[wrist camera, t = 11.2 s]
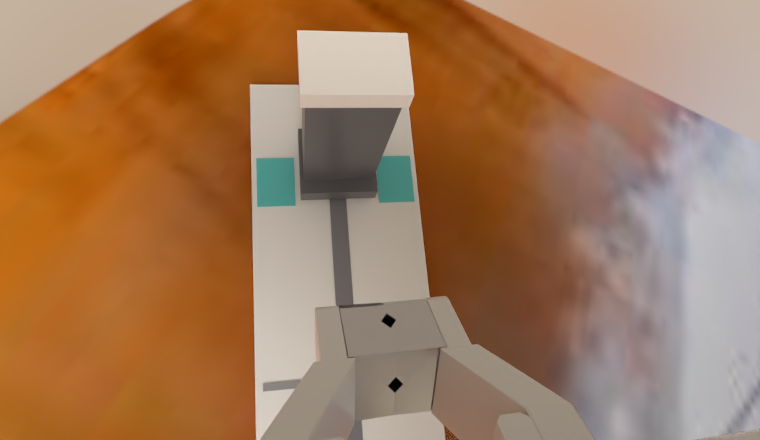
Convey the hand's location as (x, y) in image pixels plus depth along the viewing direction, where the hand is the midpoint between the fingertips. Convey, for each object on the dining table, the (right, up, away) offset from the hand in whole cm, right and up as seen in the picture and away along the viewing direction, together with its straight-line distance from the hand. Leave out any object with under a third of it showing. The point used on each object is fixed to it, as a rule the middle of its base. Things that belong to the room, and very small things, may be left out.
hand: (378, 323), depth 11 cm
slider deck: (-2, -1, +18) cm, 19 cm away
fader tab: (-3, +6, +18) cm, 19 cm away
